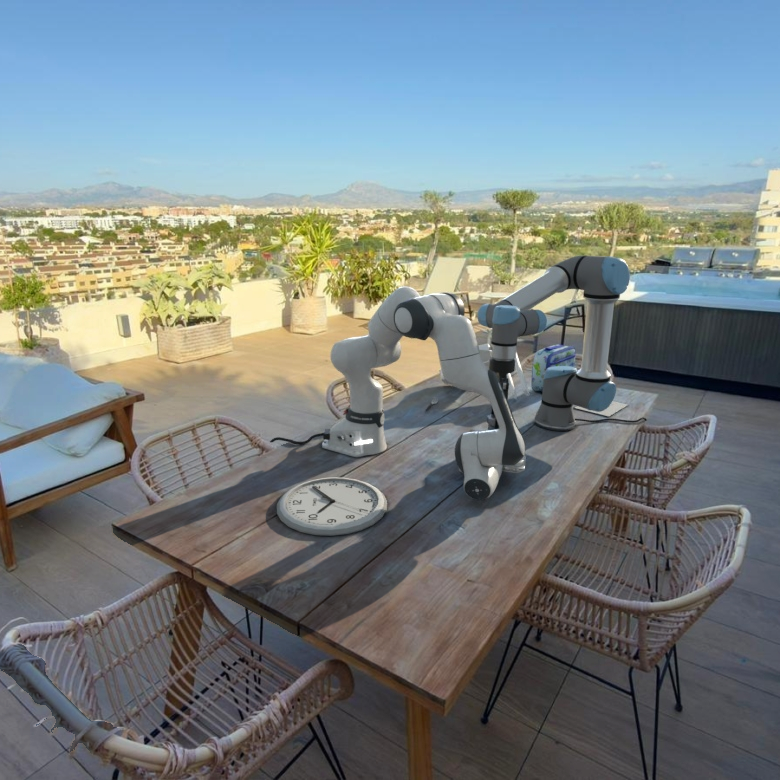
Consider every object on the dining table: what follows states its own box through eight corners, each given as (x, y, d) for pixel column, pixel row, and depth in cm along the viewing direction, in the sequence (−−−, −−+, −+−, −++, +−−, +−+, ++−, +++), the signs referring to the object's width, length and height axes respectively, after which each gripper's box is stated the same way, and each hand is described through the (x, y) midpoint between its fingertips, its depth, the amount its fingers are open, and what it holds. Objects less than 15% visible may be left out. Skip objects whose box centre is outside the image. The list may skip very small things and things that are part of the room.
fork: (422, 411, 216) (422, 407, 215) (433, 400, 230) (433, 396, 230) (428, 412, 215) (429, 407, 215) (438, 401, 230) (439, 396, 229)
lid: (509, 426, 159) (510, 420, 159) (489, 426, 159) (490, 420, 158) (504, 419, 165) (505, 413, 165) (485, 419, 165) (485, 413, 164)
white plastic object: (461, 429, 252) (437, 405, 227) (444, 352, 274) (420, 323, 250) (535, 404, 240) (518, 377, 215) (510, 326, 262) (492, 293, 237)
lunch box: (547, 397, 237) (552, 352, 231) (526, 391, 245) (531, 348, 238) (574, 386, 255) (580, 344, 249) (554, 381, 262) (559, 340, 256)
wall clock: (392, 527, 129) (268, 531, 127) (391, 533, 130) (269, 537, 127) (383, 473, 158) (282, 475, 155) (383, 478, 158) (282, 480, 156)
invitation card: (608, 416, 214) (573, 407, 224) (608, 416, 214) (573, 408, 224) (628, 404, 229) (594, 396, 238) (628, 405, 229) (594, 397, 238)
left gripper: (524, 462, 149) (529, 444, 161) (454, 450, 155) (464, 434, 168) (522, 482, 151) (527, 462, 163) (453, 470, 157) (463, 452, 170)
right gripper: (485, 350, 166) (480, 417, 173) (495, 366, 146) (489, 441, 153) (509, 350, 166) (503, 417, 172) (522, 367, 146) (514, 442, 153)
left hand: (495, 448), depth 165 cm, fingers closed on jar, 5 cm apart
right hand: (496, 429), depth 163 cm, fingers open, 8 cm apart
